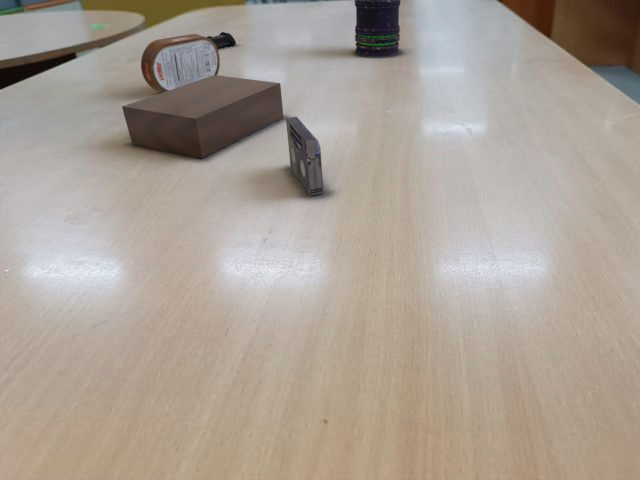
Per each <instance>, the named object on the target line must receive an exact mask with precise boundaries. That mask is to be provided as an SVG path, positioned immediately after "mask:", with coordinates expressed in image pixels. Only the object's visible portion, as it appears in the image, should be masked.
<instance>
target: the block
mask: <svg viewBox="0 0 640 480" xmlns="http://www.w3.org/2000/svg"><path fill="white" fill-rule="evenodd" d="M282 97H283V96H282V87H281V83H280V82H274V81H267V80H266V81H265V80H258V79H251V78H241V77H234V76H227V75H218V74H217V75H214V76H211V77H208V78H205V79H202V80H199V81H196V82H193V83H190V84H187V85H184V86H181V87H178V88H175V89H172V90H169V91H166V92H160V93H158V94H155V95H152V96H148V97H145V98H142V99H140V100H136V101H134V102H130V103H128V104H124V105H122V106H121V109H122V113H123V115H124V119H125V123H126V127H127V131H128V135H129V139H130V142H131V145H134V146H139V147H143V148H148V149H152V150H153V149H154V150H159V151H163V152H168V153H172V154H173V153H174V154H177V155H183V156H187V157H193V158H197V159H202V160H203V159H205V158H207V157H208V156H210V155H213V154H215V153H216V152H219V151H221V150H222V149H224V148H227V147H229V146H230V145H232V144H234V143H236V142H238V141H241V140H242V139H244V138H246V137H248V136H250V135H252V134H254V133H256V132H258V131H260V130H261V129H265V128H266V127H268V126H270V125H271V124H273V123H276V122H278V121H280V120H282V119H284V106H283V98H282Z"/></svg>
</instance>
